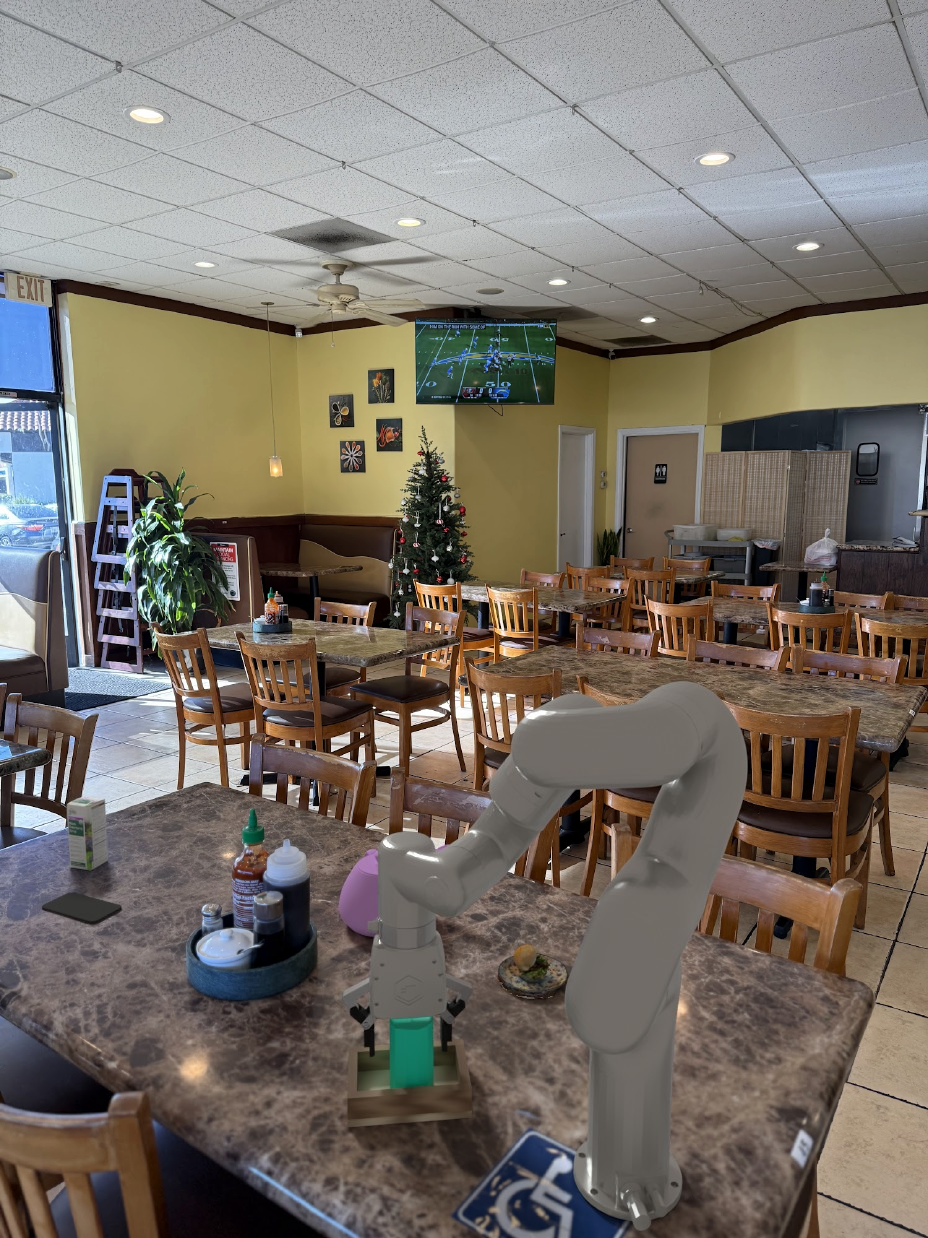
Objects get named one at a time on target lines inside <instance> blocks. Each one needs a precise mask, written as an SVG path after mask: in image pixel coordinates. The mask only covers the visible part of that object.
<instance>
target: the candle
mask: <svg viewBox="0 0 928 1238" xmlns="http://www.w3.org/2000/svg"><path fill="white" fill-rule="evenodd" d="M388 1020H389V1044H390V1089H396V1088H409V1087H423V1086H434V1073H433V1041H434V1016H432V1017H420V1018H405V1019H388Z"/></svg>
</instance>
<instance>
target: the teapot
mask: <svg viewBox="0 0 928 1238" xmlns="http://www.w3.org/2000/svg"><path fill="white" fill-rule="evenodd" d="M449 845H450V844H445V845H441V846H439V847H438V848H435V852H437V851H440V850H443V849H445V848H446V847H448V846H449ZM338 900H339V901H338V913H339V916H340V918H341V919H342V921H343V922H344V923H345V925H347V926H348V927H349V928H350V929H351V930H352V931H353V932H355V933H356V934H359V935H363V936H366V937H370V938H374V937H375V935H376V933H373V932H368V921H373V920H376V917H378V918H379V916H378V849H374V848H371V849H368V850H366V852H365V856H363V857H362V858H360V859H359V860H358V861H357V863H356V864H355V865H354V867H352V870H351V871H350V873H349V875H348V876H347V878H346V880H345V882H344V883H343V885H342V889H341V891H340V894H339V899H338Z"/></svg>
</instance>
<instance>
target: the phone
mask: <svg viewBox="0 0 928 1238" xmlns="http://www.w3.org/2000/svg"><path fill="white" fill-rule="evenodd" d="M41 909H42V910H43V911H47V912H50V913H53V914H56V915H59V916H62V917H66V918H68V919H73V920H74V921H75V920H76V921H80V922H82V923H86V924H89V925H97V924H98V923H100V922H102V921H105V920H106V919H108V918H109V917H111V916H114V915H115V914H118V913H119V912H121V911H122V910H123V909H122V905H121V904H118V903H115V902H111V901H107V900H103V899H100V898H96V897H92V896H89V895H84V894H81V893H77V892H73V891H71V892H68V893H65V894H63V895H61V896H58V897H56V898H54V899H51V900H50V901H47V902H46V903H44V904H42V905H41Z"/></svg>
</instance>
